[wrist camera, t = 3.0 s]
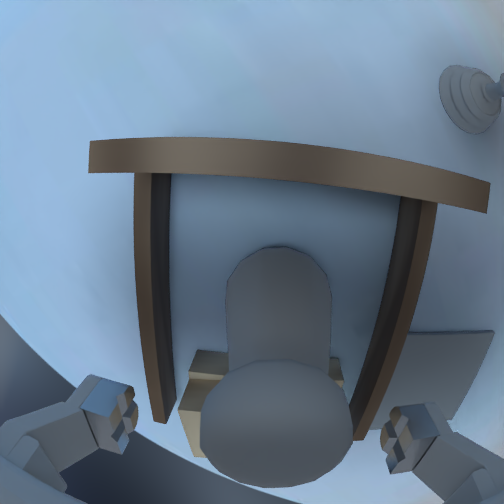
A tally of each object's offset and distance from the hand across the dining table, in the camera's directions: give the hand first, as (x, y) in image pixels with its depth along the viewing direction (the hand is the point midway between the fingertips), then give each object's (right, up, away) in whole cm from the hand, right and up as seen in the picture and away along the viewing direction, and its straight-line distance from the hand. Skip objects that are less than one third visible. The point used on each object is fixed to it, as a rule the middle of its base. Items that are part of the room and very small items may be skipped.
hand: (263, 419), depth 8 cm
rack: (+1, +1, +11) cm, 11 cm away
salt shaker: (+1, +3, +11) cm, 11 cm away
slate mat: (+15, -6, +12) cm, 20 cm away
